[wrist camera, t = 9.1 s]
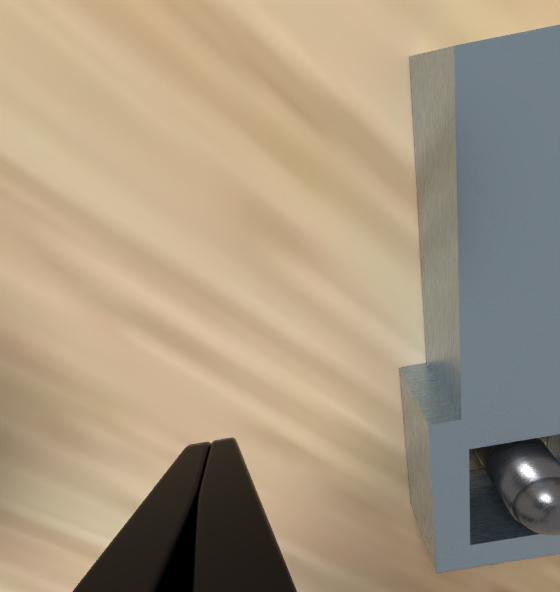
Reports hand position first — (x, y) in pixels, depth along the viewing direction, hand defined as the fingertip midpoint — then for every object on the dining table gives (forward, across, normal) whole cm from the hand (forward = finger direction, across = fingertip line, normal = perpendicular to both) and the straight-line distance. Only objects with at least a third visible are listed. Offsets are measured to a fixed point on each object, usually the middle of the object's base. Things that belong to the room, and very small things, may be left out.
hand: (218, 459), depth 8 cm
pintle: (+6, -8, +6) cm, 12 cm away
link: (+6, -8, +2) cm, 10 cm away
